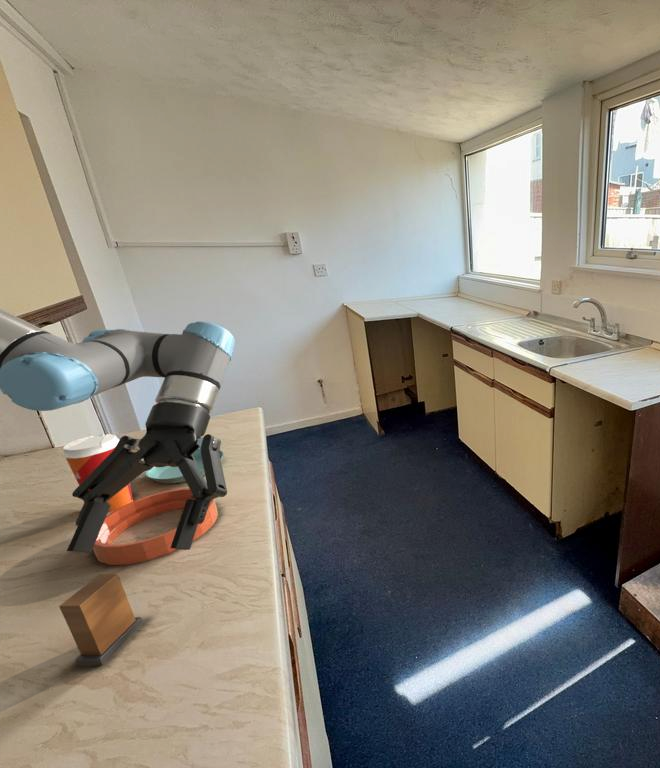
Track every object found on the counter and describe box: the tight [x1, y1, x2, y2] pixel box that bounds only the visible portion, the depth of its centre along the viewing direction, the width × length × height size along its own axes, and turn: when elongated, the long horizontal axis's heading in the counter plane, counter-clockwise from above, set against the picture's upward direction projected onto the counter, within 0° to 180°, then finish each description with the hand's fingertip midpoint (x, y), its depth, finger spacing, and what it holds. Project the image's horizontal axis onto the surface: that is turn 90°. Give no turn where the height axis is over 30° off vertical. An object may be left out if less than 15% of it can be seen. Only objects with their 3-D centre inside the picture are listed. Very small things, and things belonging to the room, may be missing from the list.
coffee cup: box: [61, 433, 134, 512], centre depth 80 cm, size 8×8×15 cm
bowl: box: [92, 487, 219, 566], centre depth 73 cm, size 17×17×4 cm
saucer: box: [144, 448, 224, 484], centre depth 95 cm, size 15×15×3 cm
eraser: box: [58, 573, 144, 667], centre depth 51 cm, size 6×3×10 cm, turn 2°
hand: (129, 550), depth 55 cm, fingers open, 13 cm apart
